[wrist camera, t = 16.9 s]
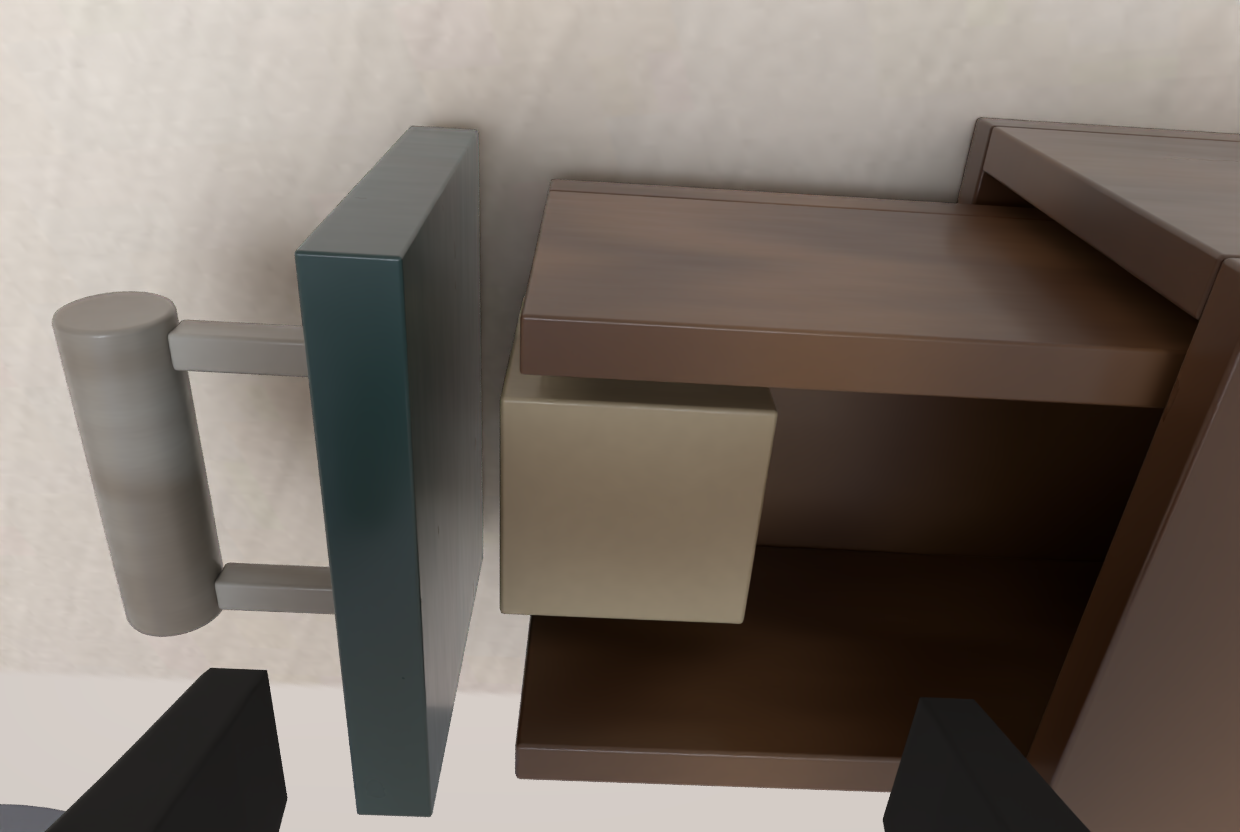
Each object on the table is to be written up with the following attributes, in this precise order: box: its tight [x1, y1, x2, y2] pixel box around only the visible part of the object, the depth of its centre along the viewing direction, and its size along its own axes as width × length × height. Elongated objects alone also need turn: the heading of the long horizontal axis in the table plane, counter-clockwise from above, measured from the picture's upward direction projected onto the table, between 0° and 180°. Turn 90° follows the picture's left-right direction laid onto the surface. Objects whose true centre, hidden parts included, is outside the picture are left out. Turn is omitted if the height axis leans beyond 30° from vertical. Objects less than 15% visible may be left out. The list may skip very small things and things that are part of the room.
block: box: [500, 297, 778, 624], centre depth 16 cm, size 4×4×4 cm
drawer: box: [52, 126, 1199, 817], centre depth 16 cm, size 20×9×7 cm, turn 86°
